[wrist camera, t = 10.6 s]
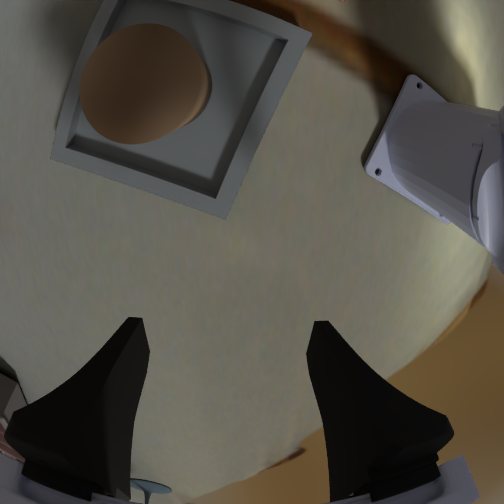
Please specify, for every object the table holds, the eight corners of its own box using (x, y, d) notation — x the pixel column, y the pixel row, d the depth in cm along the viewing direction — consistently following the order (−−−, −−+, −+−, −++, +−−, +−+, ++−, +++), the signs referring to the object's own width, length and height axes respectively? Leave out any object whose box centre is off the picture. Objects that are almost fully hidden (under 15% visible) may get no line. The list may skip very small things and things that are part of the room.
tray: (304, 40, 14) (312, 33, 13) (226, 208, 19) (225, 220, 18) (126, -13, 11) (115, -22, 10) (65, 152, 16) (50, 159, 15)
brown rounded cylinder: (226, 62, 14) (222, 42, 9) (192, 141, 16) (172, 161, 11) (146, 39, 13) (106, 14, 8) (116, 116, 15) (66, 127, 10)
